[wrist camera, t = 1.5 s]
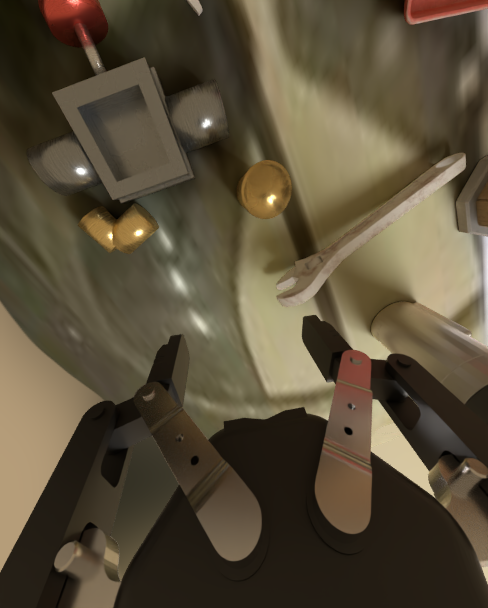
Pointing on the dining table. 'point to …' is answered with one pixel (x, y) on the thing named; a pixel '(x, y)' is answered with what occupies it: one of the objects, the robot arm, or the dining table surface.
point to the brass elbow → (119, 228)
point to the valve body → (121, 118)
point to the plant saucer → (439, 9)
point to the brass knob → (265, 189)
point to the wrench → (364, 232)
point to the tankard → (474, 202)
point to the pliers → (195, 6)
